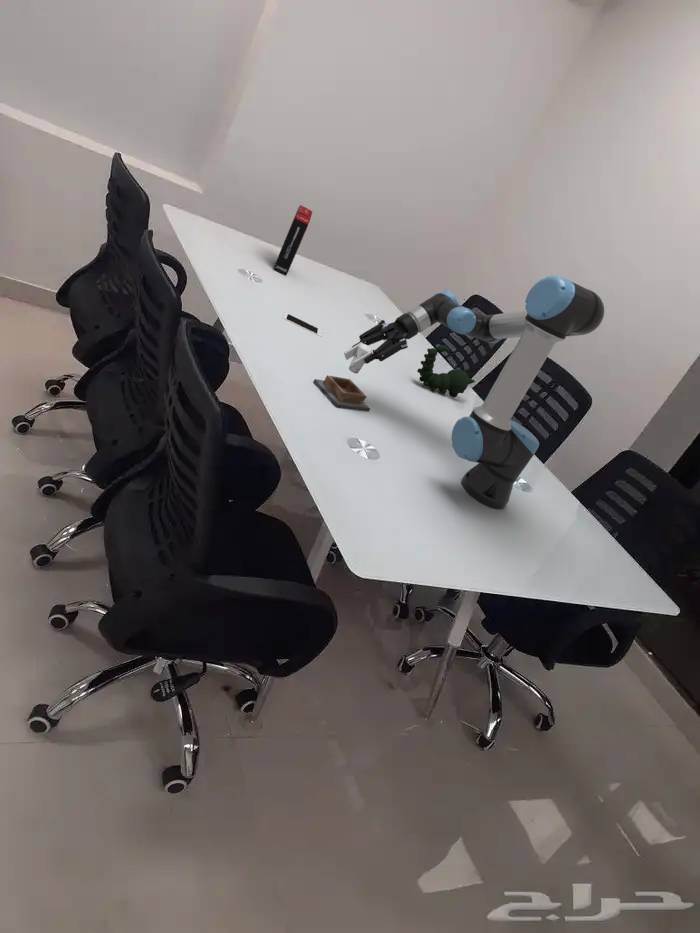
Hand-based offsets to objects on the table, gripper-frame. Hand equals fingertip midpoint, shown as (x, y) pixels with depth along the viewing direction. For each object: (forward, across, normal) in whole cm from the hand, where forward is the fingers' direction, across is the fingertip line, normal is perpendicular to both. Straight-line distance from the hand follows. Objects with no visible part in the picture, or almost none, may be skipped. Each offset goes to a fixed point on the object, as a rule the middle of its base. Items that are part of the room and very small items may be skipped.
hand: (350, 360), depth 219 cm
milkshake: (0, 0, -5) cm, 5 cm away
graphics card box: (-22, +111, -41) cm, 120 cm away
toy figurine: (-37, +16, -56) cm, 69 cm away
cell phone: (-5, +52, -24) cm, 57 cm away
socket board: (+6, 0, -12) cm, 13 cm away
